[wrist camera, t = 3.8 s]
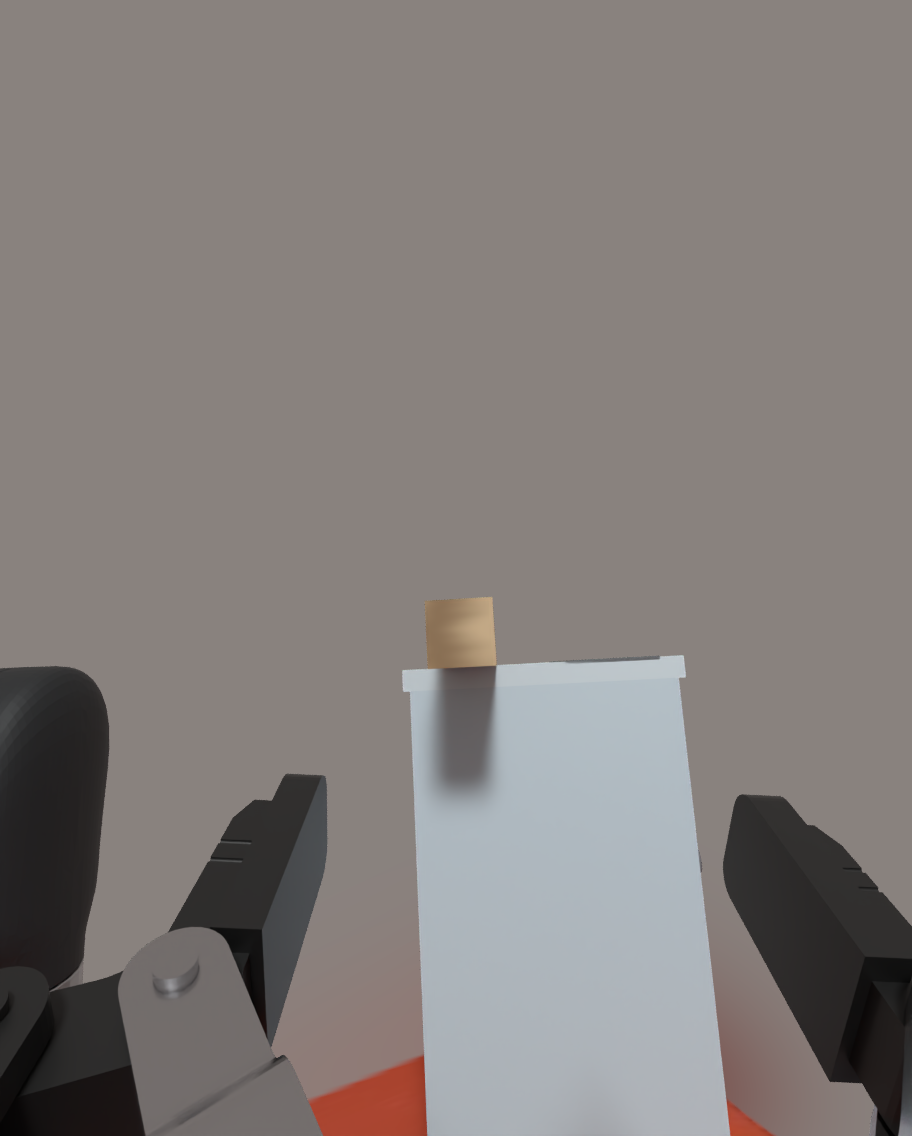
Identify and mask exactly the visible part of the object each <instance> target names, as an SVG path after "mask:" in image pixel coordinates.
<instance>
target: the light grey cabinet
mask: <svg viewBox="0 0 912 1136" xmlns="http://www.w3.org/2000/svg"><path fill="white" fill-rule="evenodd" d="M402 675H403V692H407V691H410V702H411V726H412V727H411V728H412V753H413V779H414V803H415V829H416V830H415V831H416V855H417V881H418V905H419V906H418V907H419V931H420V932H419V933H420V957H421V982H422V983H421V984H422V1009H423V1034H424V1061H425V1086H426V1112H427V1136H730V1130H729V1121H728V1112H727V1103H726V1094H725V1085H724V1076H723V1068H722V1059H721V1050H720V1041H719V1032H718V1023H717V1015H716V1005H715V997H714V988H713V979H712V970H711V961H710V952H709V943H708V934H707V927H706V926H707V925H706V917H705V908H704V899H703V890H702V882H701V872H702V862H701V857H700V853H699V850H698V845H697V837H696V829H695V819H694V810H693V801H692V793H691V783H690V774H689V765H688V757H687V748H686V739H685V730H684V722H683V712H682V704H681V694H680V686H679V678H681V677H686V674H685V665H684V656H683V655H682V656H663V657H660V656H648V657H647V656H646V657H627V658H610V659H609V658H608V659H590V660H571V661H553V662H548V663H529V664H511V665H496V666H478V667H459V668H441V669H419V670H403V671H402Z"/></svg>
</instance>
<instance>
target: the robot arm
mask: <svg viewBox="0 0 912 1136" xmlns="http://www.w3.org/2000/svg"><path fill="white" fill-rule="evenodd" d="M108 756H109V723H108V716H107V709H106V705H105V702H104V699H103V696H102V694H101V692H100V690H99V688H98V687H97V685H96V683H95V682H94V681H93V680H92V679H91V678H90V677H89V676H88V675H87V674H85V673H84V672H82V671H80V670H77V669H74V668H70V667H58V666H51V667H21V668H2V669H0V1136H323V1134H322V1132H321V1130H320V1128H319V1125H318V1123H317V1121H316V1118H315V1116H314V1114H313V1111H312V1109H311V1107H310V1104H309V1102H308V1100H307V1098H306V1095H305V1093H304V1091H303V1088H302V1086H301V1084H300V1081H299V1079H298V1077H297V1075H296V1072H295V1070H294V1068H293V1066H292V1064H291V1063H290V1061H289V1060H288V1058H287V1057H286V1056H284V1055H282V1056H280V1057H278V1058H276V1057H275V1055H274V1054H273V1052H272V1049H271V1046H272V1043H273V1040H274V1036H275V1033H276V1030H277V1027H278V1023H279V1020H280V1017H281V1013H282V1010H283V1007H284V1003H285V1000H286V997H287V993H288V990H289V987H290V984H291V980H292V977H293V973H294V970H295V967H296V964H297V961H298V957H299V954H300V950H301V947H302V944H303V940H304V937H305V934H306V931H307V927H308V924H309V921H310V917H311V914H312V911H313V908H314V904H315V901H316V898H317V894H318V891H319V888H320V885H321V881H322V878H323V873H324V869H325V862H326V854H327V786H326V778H325V776H322V775H301V774H286V775H285V776H284V778H283V779H282V781H281V783H280V785H279V787H278V789H277V791H276V793H275V796H274V798H273V800H272V801H267V800H254V801H252V802H251V803H250V804H249V805H248V806H246V807H245V808H244V809H243V810H242V811H240V812H239V813H238V814H237V815H236V816H234V817H233V819H232V821H231V822H230V824H229V826H228V827H227V829H226V831H225V833H224V835H223V836H222V838H221V842H220V843H219V844H218V845H217V847H216V849H215V850H214V852H213V854H212V856H211V860H210V862H208V863H207V865H206V866H205V868H204V870H203V872H202V873H201V875H200V877H199V879H198V881H197V882H196V884H195V886H194V887H193V889H192V891H191V893H190V894H189V896H188V898H187V900H186V902H185V903H184V905H183V907H182V909H181V911H180V912H179V914H178V916H177V917H176V919H175V921H174V923H173V924H172V926H171V928H170V930H169V932H168V933H166V934H164V935H162V936H160V937H158V938H156V939H155V940H153V941H151V942H150V943H148V944H147V945H146V946H145V947H143V948H142V949H141V950H140V951H139V952H138V953H137V954H136V955H135V956H134V957H133V958H132V959H131V960H130V962H129V963H128V964H127V966H126V968H125V969H124V971H122V972H120V973H117V974H115V975H113V976H110V977H107V978H104V979H100V980H97V981H93V982H88V983H84V984H82V980H83V958H84V943H85V931H86V926H87V922H88V917H89V914H90V909H91V906H92V901H93V897H94V893H95V888H96V882H97V872H98V863H99V862H98V861H99V849H100V848H99V847H100V837H101V826H102V815H103V807H104V797H105V788H106V779H107V769H108ZM723 873H724V880H725V885H726V888H727V892H728V894H729V896H730V899H731V900H732V902H733V904H734V906H735V908H736V910H737V912H738V913H739V915H740V917H741V919H742V921H743V922H744V925H745V926H746V928H747V930H748V932H749V934H750V936H751V937H752V939H753V941H754V943H755V945H756V946H757V948H758V950H759V952H760V954H761V956H762V958H763V960H764V961H765V963H766V965H767V967H768V969H769V970H770V972H771V974H772V976H773V978H774V980H775V982H776V983H777V985H778V987H779V989H780V991H781V993H782V995H783V996H784V998H785V1000H786V1002H787V1004H788V1006H789V1007H790V1009H791V1011H792V1013H793V1015H794V1017H795V1018H796V1020H797V1022H798V1024H799V1025H800V1028H801V1030H802V1031H803V1033H804V1035H805V1037H806V1038H807V1041H808V1042H809V1044H810V1046H811V1048H812V1050H813V1052H814V1053H815V1055H816V1057H817V1059H818V1061H819V1063H820V1064H821V1066H822V1068H823V1070H824V1072H825V1074H826V1076H827V1077H828V1079H829V1081H830V1082H847V1083H848V1082H849V1083H862V1084H863V1085H864V1087H865V1089H866V1091H867V1092H868V1094H869V1096H870V1098H871V1099H872V1101H873V1102H874V1104H875V1105H874V1109H873V1112H872V1116H871V1123H870V1134H869V1136H912V926H911V925H910V924H909V923H908V922H907V920H906V919H905V918H904V917H903V916H902V915H901V914H900V912H899V911H898V910H897V909H896V908H895V906H894V905H893V904H892V903H891V902H890V901H889V900H888V898H887V897H886V896H885V895H884V894H883V893H882V892H879V891H878V887H877V886H876V885H875V883H873V881H872V880H871V879H870V878H869V876H868V875H867V874H866V873H862V870H861V867H860V866H859V865H858V864H857V862H856V861H855V860H854V859H853V858H852V857H851V856H850V855H849V853H848V852H847V851H846V850H845V849H844V847H843V846H842V845H840V844H839V843H837V842H836V841H835V840H833V839H832V838H830V837H829V836H828V835H827V834H825V833H824V832H822V831H821V830H820V829H818V828H817V827H815V826H813V825H812V826H811V825H807V824H806V823H805V822H804V821H803V820H802V818H801V817H800V816H799V815H798V814H797V812H796V811H795V810H794V809H793V807H792V806H791V805H790V804H789V803H788V801H787V800H786V799H784V798H783V797H781V796H762V795H739V796H738V797H737V799H736V801H735V804H734V809H733V814H732V819H731V824H730V830H729V835H728V840H727V845H726V851H725V855H724V861H723Z"/></svg>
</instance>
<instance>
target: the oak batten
mask: <svg viewBox="0 0 912 1136" xmlns="http://www.w3.org/2000/svg"><path fill="white" fill-rule="evenodd" d="M425 615H426V636H427V637H426V638H427V661H428V669H441V668H459V667H478V666H496V665H497V660H496V645H495V629H494V616H493V602H492V597H483V598H466V599H450V600H433V601H425Z"/></svg>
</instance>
